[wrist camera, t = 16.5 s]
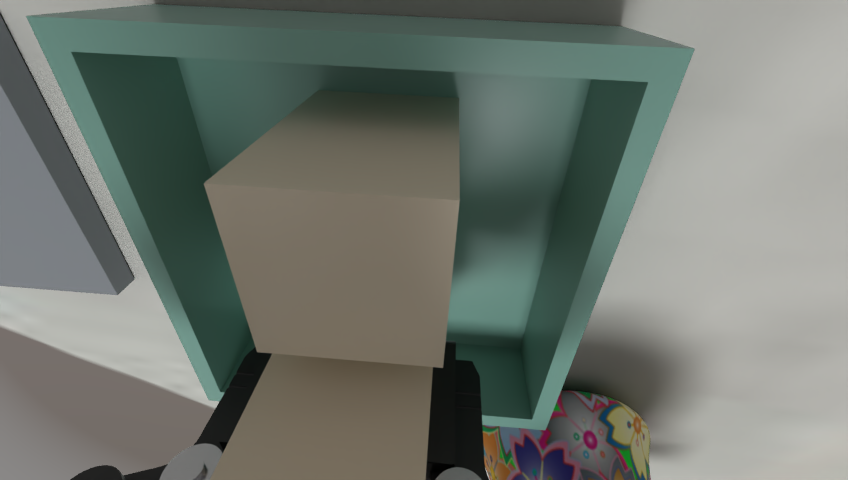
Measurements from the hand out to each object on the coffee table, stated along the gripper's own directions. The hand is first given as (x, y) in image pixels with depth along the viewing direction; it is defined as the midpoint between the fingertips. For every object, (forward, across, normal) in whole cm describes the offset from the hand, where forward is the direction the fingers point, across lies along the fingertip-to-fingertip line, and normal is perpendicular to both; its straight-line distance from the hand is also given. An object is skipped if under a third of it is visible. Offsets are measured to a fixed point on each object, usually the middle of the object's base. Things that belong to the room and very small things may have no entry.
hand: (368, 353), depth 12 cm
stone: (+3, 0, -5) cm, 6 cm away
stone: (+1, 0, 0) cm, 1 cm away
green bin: (+4, 0, -3) cm, 5 cm away
